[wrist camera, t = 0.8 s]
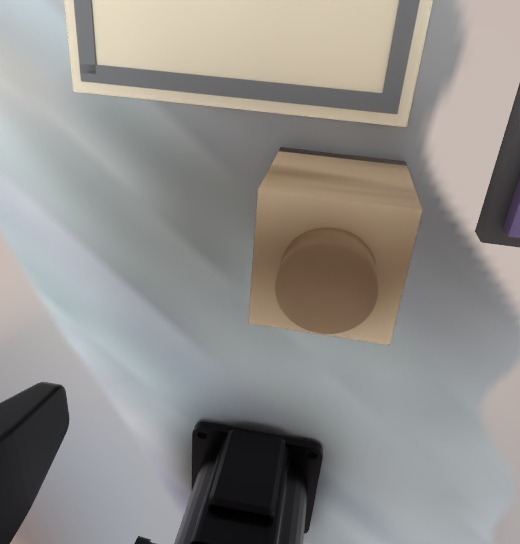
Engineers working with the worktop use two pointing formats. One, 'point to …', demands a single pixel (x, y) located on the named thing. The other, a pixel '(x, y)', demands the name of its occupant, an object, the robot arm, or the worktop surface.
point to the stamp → (333, 244)
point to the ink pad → (504, 189)
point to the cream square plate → (254, 54)
